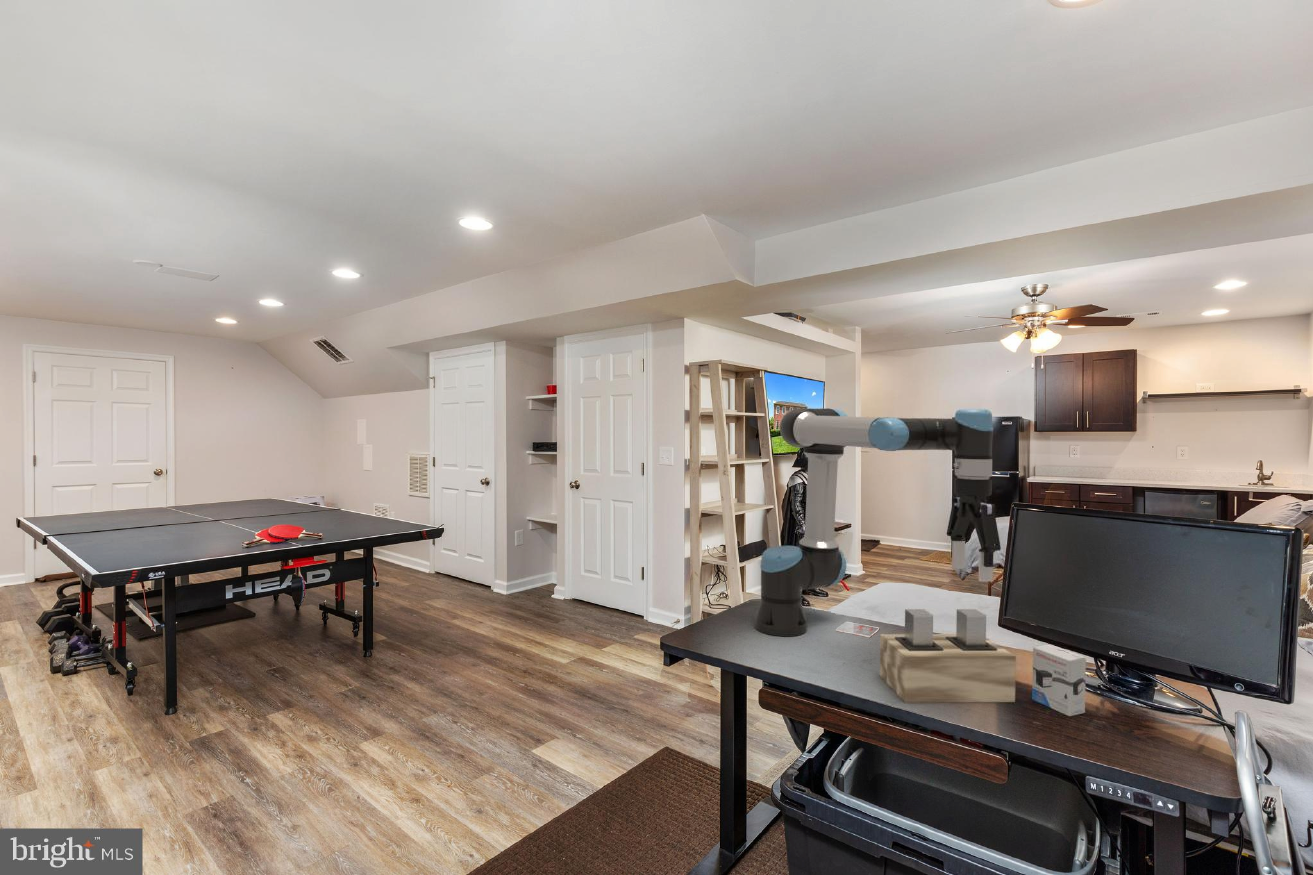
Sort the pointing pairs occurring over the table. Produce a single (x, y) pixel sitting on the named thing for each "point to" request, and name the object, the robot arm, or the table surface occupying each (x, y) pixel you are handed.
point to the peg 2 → (971, 628)
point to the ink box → (1059, 679)
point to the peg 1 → (918, 628)
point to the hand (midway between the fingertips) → (971, 574)
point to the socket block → (947, 670)
